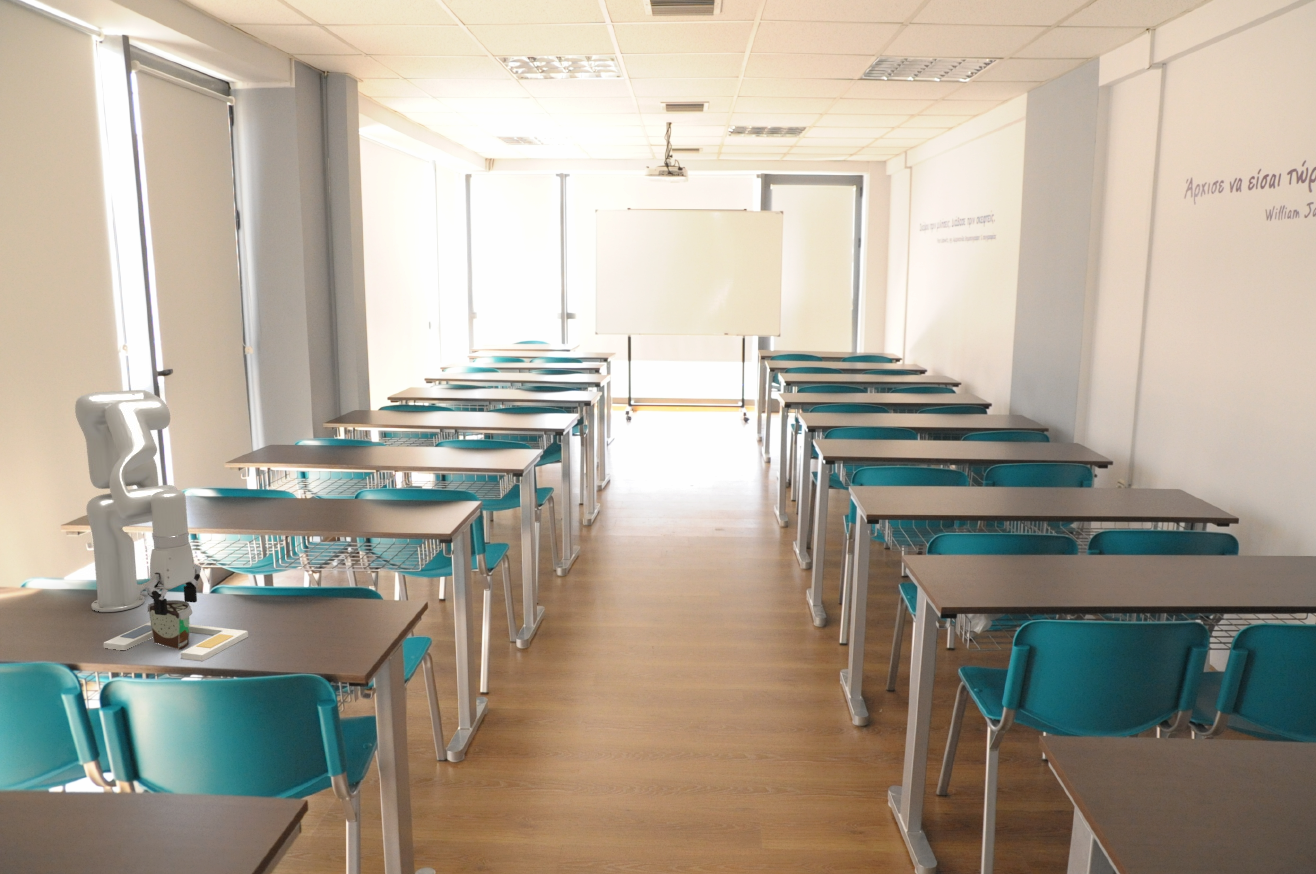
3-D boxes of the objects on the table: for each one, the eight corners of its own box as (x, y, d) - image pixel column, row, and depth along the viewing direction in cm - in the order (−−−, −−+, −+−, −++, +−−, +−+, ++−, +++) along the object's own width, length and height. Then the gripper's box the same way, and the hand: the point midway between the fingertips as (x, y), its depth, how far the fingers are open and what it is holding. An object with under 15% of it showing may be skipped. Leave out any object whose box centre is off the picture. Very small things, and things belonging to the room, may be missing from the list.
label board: (154, 625, 229) (154, 619, 229) (248, 636, 223) (247, 630, 223) (103, 648, 214) (103, 641, 214) (202, 661, 208) (202, 654, 208)
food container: (205, 642, 219) (203, 604, 217) (183, 651, 213) (180, 612, 212) (172, 634, 224) (169, 596, 222) (149, 642, 218) (146, 603, 217)
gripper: (184, 531, 224) (189, 596, 226) (130, 548, 207) (135, 618, 209) (209, 533, 222) (214, 598, 224) (157, 550, 205) (162, 621, 208)
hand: (176, 608), depth 217 cm, fingers open, 9 cm apart
